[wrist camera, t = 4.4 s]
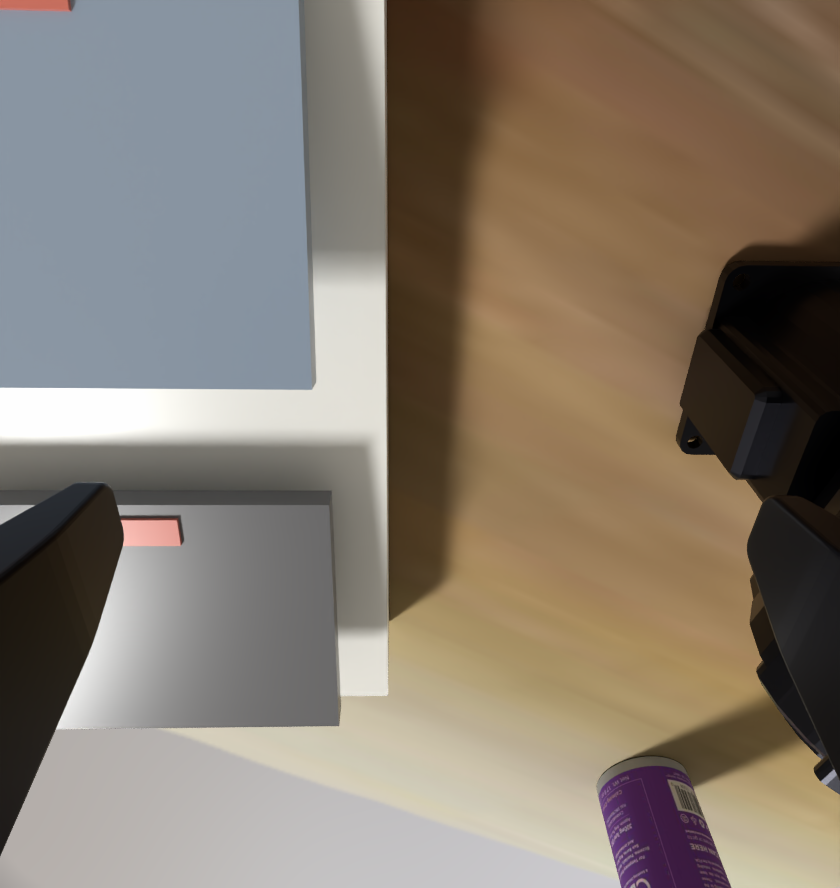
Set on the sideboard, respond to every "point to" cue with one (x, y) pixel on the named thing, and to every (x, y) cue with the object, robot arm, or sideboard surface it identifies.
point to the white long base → (275, 411)
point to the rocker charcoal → (212, 613)
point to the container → (658, 827)
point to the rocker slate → (155, 195)
